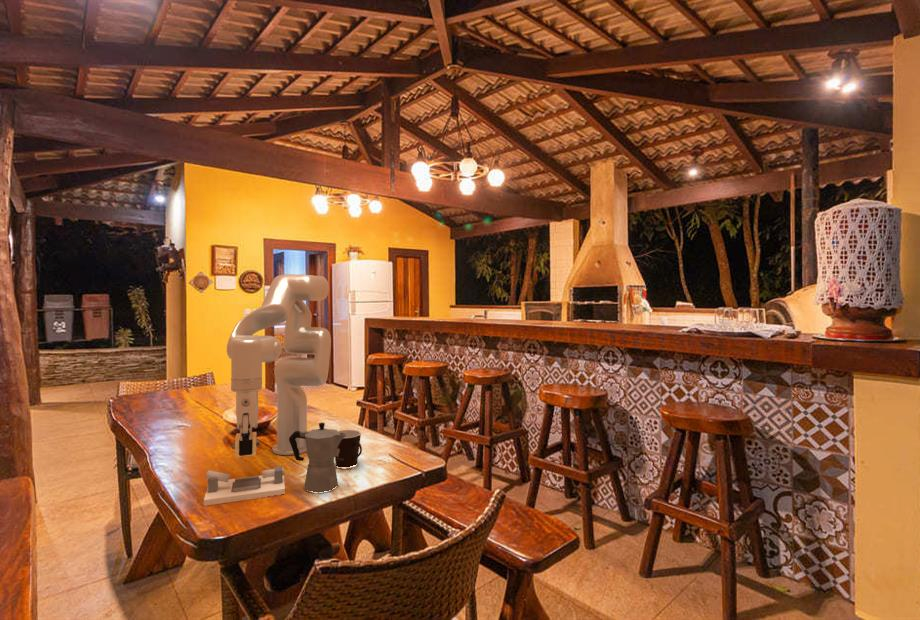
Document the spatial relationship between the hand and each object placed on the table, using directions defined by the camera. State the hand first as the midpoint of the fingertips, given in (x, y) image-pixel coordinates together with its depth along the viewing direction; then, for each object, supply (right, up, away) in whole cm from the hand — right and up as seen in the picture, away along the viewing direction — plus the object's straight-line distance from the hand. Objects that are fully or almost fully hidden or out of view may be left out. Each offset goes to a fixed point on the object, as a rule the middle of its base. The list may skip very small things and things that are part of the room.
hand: (246, 451), depth 124 cm
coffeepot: (+18, -11, +4) cm, 22 cm away
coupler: (0, -1, 0) cm, 1 cm away
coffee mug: (+23, -11, +19) cm, 31 cm away
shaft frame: (0, -11, +1) cm, 11 cm away
